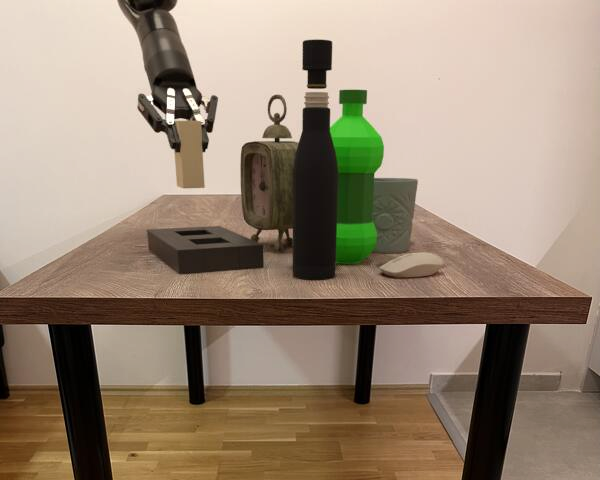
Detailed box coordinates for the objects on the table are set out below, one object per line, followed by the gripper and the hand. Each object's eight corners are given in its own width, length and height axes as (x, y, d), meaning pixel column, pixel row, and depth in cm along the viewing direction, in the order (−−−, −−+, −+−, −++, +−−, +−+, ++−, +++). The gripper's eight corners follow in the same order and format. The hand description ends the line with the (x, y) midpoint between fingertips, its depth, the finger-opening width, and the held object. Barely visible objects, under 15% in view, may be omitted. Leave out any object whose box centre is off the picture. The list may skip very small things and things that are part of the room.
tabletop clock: (242, 243, 122) (237, 95, 111) (284, 239, 126) (284, 97, 115) (274, 255, 110) (272, 92, 100) (319, 251, 114) (322, 93, 103)
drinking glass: (381, 255, 110) (385, 181, 105) (346, 247, 118) (348, 178, 113) (424, 250, 115) (430, 179, 110) (388, 243, 123) (392, 176, 118)
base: (179, 274, 96) (177, 250, 94) (148, 249, 115) (146, 229, 113) (263, 267, 101) (263, 244, 99) (221, 245, 120) (220, 225, 118)
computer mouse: (373, 272, 98) (374, 252, 96) (429, 267, 101) (431, 248, 99) (392, 279, 93) (393, 258, 91) (450, 275, 96) (452, 254, 94)
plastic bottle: (386, 265, 102) (398, 89, 91) (323, 267, 100) (327, 87, 89) (368, 254, 111) (376, 92, 100) (309, 256, 109) (311, 91, 98)
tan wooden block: (183, 188, 105) (178, 120, 100) (176, 186, 108) (171, 120, 104) (204, 187, 106) (200, 120, 101) (197, 185, 110) (193, 120, 105)
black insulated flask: (343, 277, 94) (352, 40, 81) (306, 281, 91) (309, 36, 78) (320, 269, 99) (324, 45, 86) (284, 273, 96) (283, 42, 83)
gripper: (126, 45, 102) (149, 130, 97) (211, 49, 107) (237, 130, 102) (124, 85, 108) (145, 166, 104) (205, 87, 113) (229, 164, 109)
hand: (191, 148), depth 103 cm, fingers closed on tan wooden block, 3 cm apart
